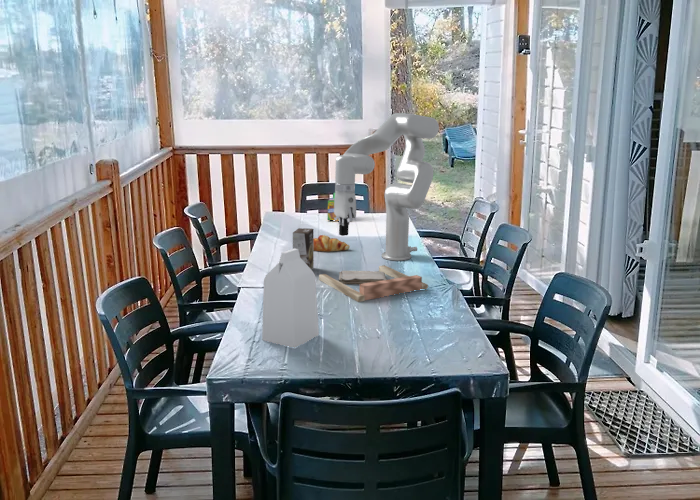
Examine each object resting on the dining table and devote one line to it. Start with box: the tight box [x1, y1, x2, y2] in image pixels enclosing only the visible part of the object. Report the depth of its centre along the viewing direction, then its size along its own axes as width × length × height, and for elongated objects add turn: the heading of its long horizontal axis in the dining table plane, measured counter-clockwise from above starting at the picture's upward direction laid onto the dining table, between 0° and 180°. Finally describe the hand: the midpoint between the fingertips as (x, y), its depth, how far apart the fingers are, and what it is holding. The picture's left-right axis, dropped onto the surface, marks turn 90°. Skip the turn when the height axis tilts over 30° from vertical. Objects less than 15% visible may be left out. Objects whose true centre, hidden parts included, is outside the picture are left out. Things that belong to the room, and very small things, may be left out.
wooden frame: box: [318, 264, 429, 303], centre depth 240 cm, size 29×29×5 cm
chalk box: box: [326, 192, 339, 222], centre depth 352 cm, size 9×9×15 cm
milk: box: [261, 248, 320, 349], centre depth 187 cm, size 12×12×26 cm
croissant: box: [313, 234, 351, 253], centre depth 290 cm, size 21×10×8 cm, turn 87°
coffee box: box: [292, 227, 315, 271], centre depth 256 cm, size 9×6×16 cm
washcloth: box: [338, 270, 387, 285], centre depth 246 cm, size 12×18×3 cm, turn 90°
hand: (343, 235), depth 254 cm, fingers closed
